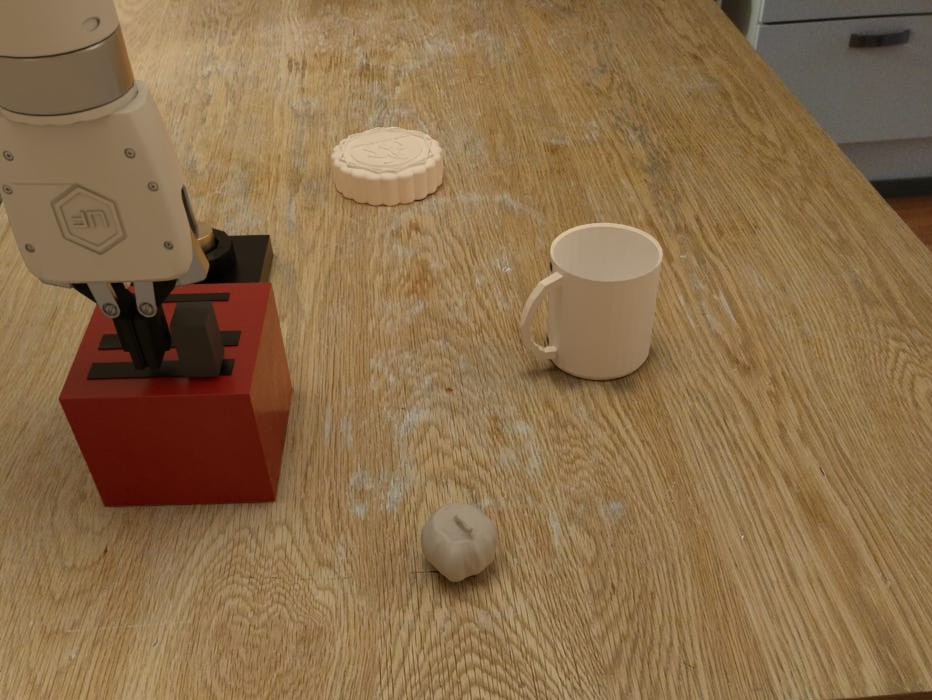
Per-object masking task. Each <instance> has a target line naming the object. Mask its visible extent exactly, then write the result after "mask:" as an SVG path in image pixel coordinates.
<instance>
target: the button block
mask: <svg viewBox="0 0 932 700" xmlns="http://www.w3.org/2000/svg"><path fill="white" fill-rule="evenodd" d="M212 230H213V235H214V239H215V243H216V249H215V250H213V251H212V252H211V253H209V254H206V255H205V256H206V258H207V260H208V262H209V269H208V273H207V276H206V279H205V280H203V281H200V282H196V283H193V284H226V283H262V282H269V280H270V274H271V269H272V265H273V260H274V255H275V254H274V251H273V249H274V248H273V245H272V239H271V234H244V235H243V234H242V235H241V234H240V235H239V234H237V235H228V233H227V232H225V231H224V230H221V229H217V228H214V227H212ZM189 285H190V284H189ZM129 286H134V283H133V282H129Z"/></svg>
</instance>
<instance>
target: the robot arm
mask: <svg viewBox="0 0 932 700" xmlns="http://www.w3.org/2000/svg"><path fill="white" fill-rule="evenodd" d="M130 60H131V59H130V56H129V53H128V49H127V45H126V41H125V38H124V34H123V31H122V27H121V23H120V20H119V16H118V13H117V8H116V4H115V0H0V197H1V200H2V204H3V206H4V207H3V208H4V210H5V213H6V217H7V219H8V222H9V225H10V229H11V230H12V231H11V233H12V235H13V236H14V240H15V243H16V246H17V249H18V251H19V253H20V256H21V258H22V261H23V262H24V264H25V266H26V268H27V269H28V271H29V272H30V274H31V275H33V276H34V277H36V278H37V279H38V280H39V282H41V283H42V284H44V285H48V286H54V287H59V288H64V289H70V290H71V289H74V290H75V291H76V292H77V293H79V294H81V295H82V296H84V297H85V298H87V299H88V300H90V301H92V302H93V303H94V304H95V305H96V304H98V306H99V308H100V310H101V311H102V313H103V314H104V315H105V316H107V317H109V318H112V320H113V323H114V325H115V328H116V331H117V334H118V337H119V340H120V343H121V346H122V348H123V350H124V352H129V353H130V356H131V358H132V361H133V364H134V367H135V369H136V370H144V369H145V368H147V366H148V367H149V368H151V369H152V370H156V369H160V367H161V364H162V361H163V358H164V354H165V351H169V350H170V348H171V342H172V341H171V334H170V330H169V327H168V324H167V320H166V317H165V314H164V310H163V307H162V303H163V302H164V301H165V299H166V298H167V297H168V295H169V294H170V293H171V292H172V290H173V289H174V288H175V287H177V286H185V285H189V284H193V283H196V282H200V281H203V280H205V279H206V276H207V273H208V269H209V262H208V260H207V258H206V256H205V254H204V252H203V250H202V249H201V247H200V245H199V243H198V241H197V240H198V237H199V229H198V222H197V221H198V217H197V213H196V210H195V206H194V203H193V199H192V196H191V192H190V189H189V185H188V182H187V179H186V177H185V174H184V171H183V168H182V164H181V162H180V161H181V160H180V159H179V156H178V154H177V153H178V152H177V150H176V147H175V145H174V141H172V138H171V135H170V133H169V129H168V127H167V126H166V122H165V121H164V118H163V116H162V114H161V111H160V109H159V107H158V105H157V102H156V101H155V98H154V96H153V95H152V93H151V90H150V89H149V87H148V85H147V83H146V82H145V81H143V80H141V79H135V76H134V71H133V67H132V64H131V61H130ZM131 282H133V283H134V290H135V293H131V292H130V291H129V288H128V286H129V285H128V283H131Z"/></svg>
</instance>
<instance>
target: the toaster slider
mask: <svg viewBox="0 0 932 700" xmlns="http://www.w3.org/2000/svg"><path fill="white" fill-rule="evenodd" d="M169 328H170V331H171V335H172V338H173V341H174V345H175V348H176V351H177V354H178V358H179V361H180V364H181V368H182V371H183V374H184V377H185V378H191V377H218V376H219V373H220V369H221V365H222V361H223V356H224V352H225V350H224V346H223V343H222V339H221V335H220V331H219V327H218V323H217V319H216V315H215V311H214V307H213V303H212V301H199V302H177V304H176V307H175V310H174V313H173V317H172V320H171V323H170V326H169Z"/></svg>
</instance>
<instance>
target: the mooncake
mask: <svg viewBox="0 0 932 700" xmlns="http://www.w3.org/2000/svg"><path fill="white" fill-rule="evenodd" d="M330 163H331V164H330V165H331V171H332V181H333V183H334V184H335V188H336V191H337V192H338V193H340V194H342V195H343V197H344V198H345V199H347V200H353V201H354V202H356V203H358V204H368V205H370V206H373V207H379V206H383V205H384V206H387V207H394V206H395V207H396V206H397V205H399V204H402V205H409V204H411V203H413V202H414V201H421V200H423V199H425V198H427V196H428V195H431V194H433V193H435V192H436V191H437V189H438V187H440V186H441V185H442V184H443V177H444V155H443V149H442V147H441V146H440V143H439V142H438V141H437V140H436V139H433V138H432V136H430V134H427V133H424V132H423V131H419V130H416V129H405V128H403V127H398V126H393V125H392V126H388V127H380V126H376V127H374V128H371V129H366V130H364V131H363V132H356V133H353V134H349V135H347V137H346V138H343V139H341V140H340V141H339V143H338V144H337V145H335V146H334V147H333V149H332V153H331V155H330Z"/></svg>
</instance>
